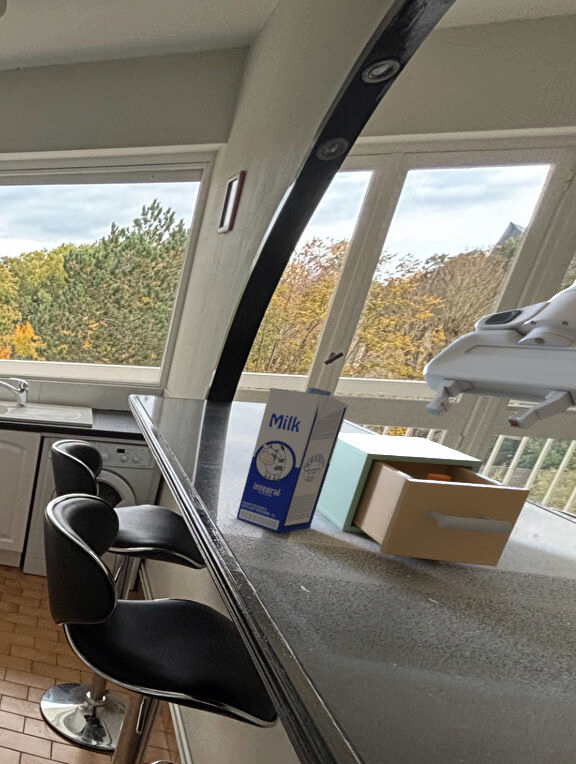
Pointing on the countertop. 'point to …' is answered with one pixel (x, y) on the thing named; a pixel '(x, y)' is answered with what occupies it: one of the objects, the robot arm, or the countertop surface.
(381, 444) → the cabinet
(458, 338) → the robot arm
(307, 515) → the milk carton
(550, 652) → the countertop surface
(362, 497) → the drawer
